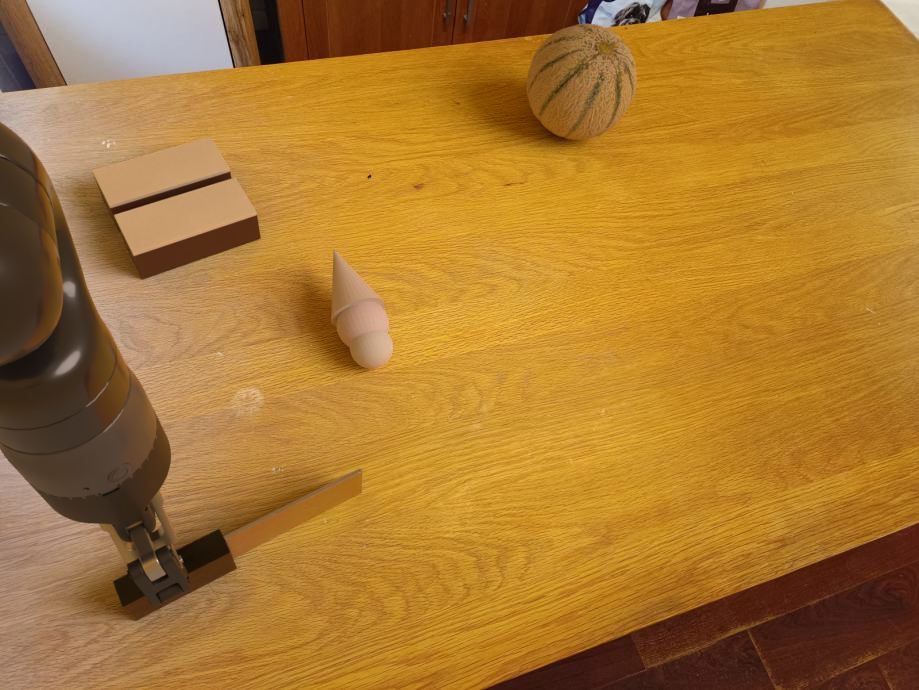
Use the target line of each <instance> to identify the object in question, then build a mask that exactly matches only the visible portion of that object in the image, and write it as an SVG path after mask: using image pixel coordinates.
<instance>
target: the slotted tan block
mask: <svg viewBox="0 0 919 690" xmlns="http://www.w3.org/2000/svg"><path fill="white" fill-rule="evenodd" d="M91 172H92V175H93V177H94V180H95V183H96V185H97V188H98V190H99V192H100V194H101V198H102V200H103V202H104V204H105V206H106V208H107V210H108V212H109V214H110V216H111V218H112V220H113V222H114V225H115V227H116V228H117V231H118V232H119V234H120V236H121V238H122V240H123V243H124V245H125V247H126V249H127V251H128V253H129V255H130V257H131V259H132V262H133V263H134V265H135V268H136V269H137V272H138V274H139V276H140V278H141V280H147V279H149V278H151V277H154V276H157V275H160V274H163V273H166V272H169V271H172V270H176V269H177V268H180V267H184V266H187V265H189V264H192V263H194V262H197V261H201V260H203V259H206V258H209V257H212V256H215V255H218V254H220V253H224V252H227V251H229V250H232V249H235V248H238V247H240V246H245V245H246V244H249V243H252V242H256V241H258V240H261V231H260V224H259V218H258V212H257V210H256V208H255V207H254V205H253V203H252V202H251V200H250V199H249V196H247V194H246V191H244V189H243V187H242V186H241V184H240V183H239V181H238V179H237V178H236V177H232V174H231V173H232V172H231V168H230V166H229V165H228V163H227V161H226V160H225V158H224V157H223V155H222V153H221V152H220V150H219V148H218V147H217V145H216V144H215V142H214V140H213V139H212V137H211V136H206V137H203V138H200V139H196V140H193V141H189V142H185V143H182V144H179V145H174V146H172V147H168V148H165V149H161V150H158V151H153V152H151V153H146V154H143V155H139V156H137V157H136V156H135V157H133V158H130V159H127V160H122V161H119V162H115V163H112V164H111V163H110V164H109V165H105V166H101V167H98V168H94V169H92V170H91Z"/></svg>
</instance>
